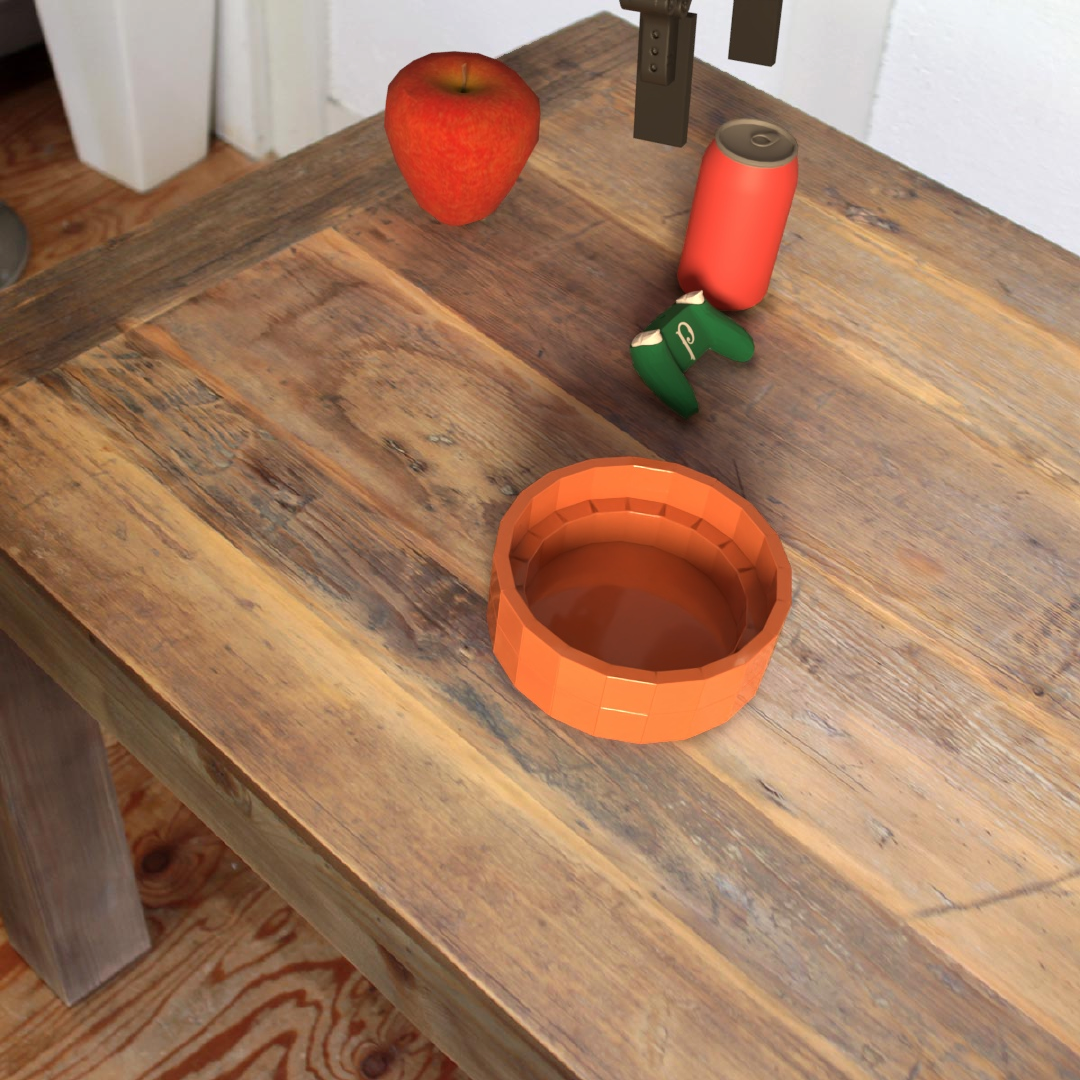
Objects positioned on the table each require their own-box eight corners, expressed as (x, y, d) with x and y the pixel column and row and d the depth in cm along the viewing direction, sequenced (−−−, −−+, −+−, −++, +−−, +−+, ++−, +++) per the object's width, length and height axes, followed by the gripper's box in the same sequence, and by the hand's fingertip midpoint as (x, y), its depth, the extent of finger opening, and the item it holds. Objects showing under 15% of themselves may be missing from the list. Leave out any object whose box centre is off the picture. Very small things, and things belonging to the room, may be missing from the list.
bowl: (768, 552, 79) (792, 481, 75) (763, 774, 69) (791, 707, 64) (508, 509, 79) (517, 436, 75) (465, 724, 69) (472, 654, 64)
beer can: (784, 300, 96) (827, 153, 87) (714, 326, 93) (751, 177, 84) (726, 250, 99) (762, 104, 91) (657, 275, 97) (687, 126, 88)
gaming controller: (722, 363, 93) (681, 289, 92) (764, 349, 90) (722, 272, 89) (653, 431, 88) (608, 354, 86) (695, 419, 85) (649, 339, 83)
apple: (551, 244, 98) (571, 94, 89) (412, 268, 94) (417, 113, 85) (496, 162, 104) (509, 14, 95) (364, 181, 101) (364, 29, 92)
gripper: (765, -387, 71) (726, 24, 84) (551, -344, 53) (545, 165, 66) (905, -380, 68) (842, 43, 81) (728, -332, 51) (685, 195, 64)
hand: (708, 99), depth 74 cm, fingers open, 13 cm apart
